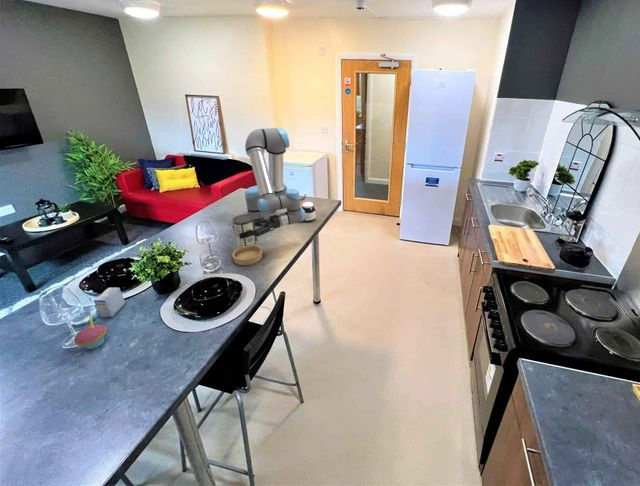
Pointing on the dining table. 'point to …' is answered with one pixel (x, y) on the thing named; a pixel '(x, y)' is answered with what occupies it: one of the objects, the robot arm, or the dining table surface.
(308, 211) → the spread jar
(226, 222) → the dining table surface
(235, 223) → the coffee can
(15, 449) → the dining table surface
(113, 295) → the medicine box
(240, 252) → the round tan tray
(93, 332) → the cupcake
